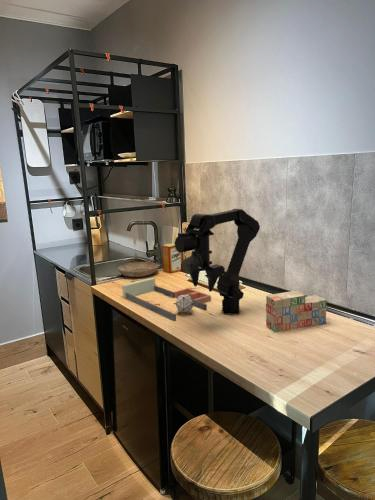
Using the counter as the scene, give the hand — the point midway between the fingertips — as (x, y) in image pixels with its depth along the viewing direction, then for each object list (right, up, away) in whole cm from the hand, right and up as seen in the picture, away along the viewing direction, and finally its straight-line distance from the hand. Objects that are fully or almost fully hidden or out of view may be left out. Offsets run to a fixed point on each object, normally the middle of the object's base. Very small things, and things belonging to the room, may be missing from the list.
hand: (202, 288), depth 141 cm
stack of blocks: (+34, -13, -4) cm, 37 cm away
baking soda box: (-14, +2, +77) cm, 78 cm away
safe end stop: (-29, -6, +38) cm, 48 cm away
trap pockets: (-4, -8, +28) cm, 29 cm away
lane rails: (-16, -9, +23) cm, 29 cm away
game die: (-7, -11, +12) cm, 18 cm away
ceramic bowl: (-34, 0, +73) cm, 81 cm away
